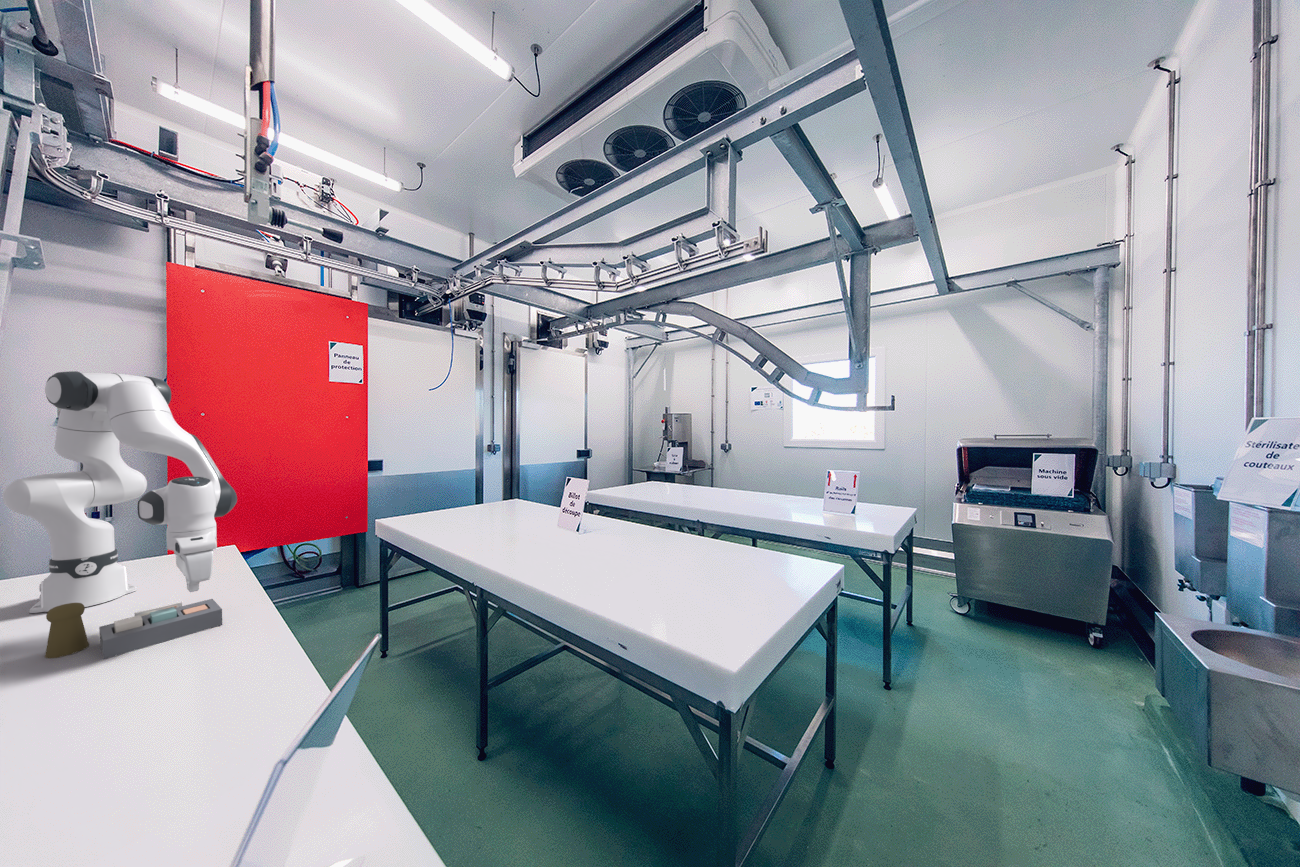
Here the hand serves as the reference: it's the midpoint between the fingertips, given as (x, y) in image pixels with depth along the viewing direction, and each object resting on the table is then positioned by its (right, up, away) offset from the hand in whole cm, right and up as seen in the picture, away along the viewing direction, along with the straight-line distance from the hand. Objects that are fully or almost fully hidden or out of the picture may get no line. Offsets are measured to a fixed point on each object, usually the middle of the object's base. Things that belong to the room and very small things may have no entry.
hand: (193, 590), depth 108 cm
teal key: (-3, -7, -4) cm, 8 cm away
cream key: (-6, -7, -9) cm, 13 cm away
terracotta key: (+1, -8, 0) cm, 8 cm away
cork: (-16, -10, -12) cm, 23 cm away
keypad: (-3, -10, -4) cm, 11 cm away
